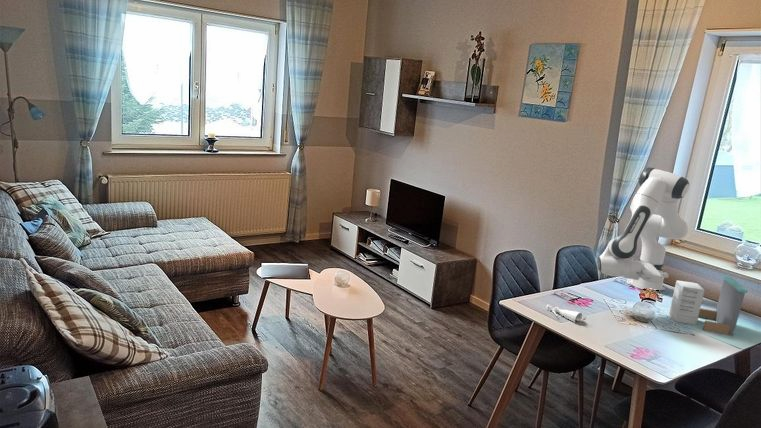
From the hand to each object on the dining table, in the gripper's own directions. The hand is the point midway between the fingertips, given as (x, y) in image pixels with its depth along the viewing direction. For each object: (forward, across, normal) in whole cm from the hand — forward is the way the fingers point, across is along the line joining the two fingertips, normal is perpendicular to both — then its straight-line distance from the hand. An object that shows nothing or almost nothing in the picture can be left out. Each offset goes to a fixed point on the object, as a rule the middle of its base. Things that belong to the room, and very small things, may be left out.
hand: (667, 275), depth 242 cm
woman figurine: (-43, -23, +20) cm, 53 cm away
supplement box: (+10, 0, +20) cm, 22 cm away
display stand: (+23, 0, +19) cm, 30 cm away
